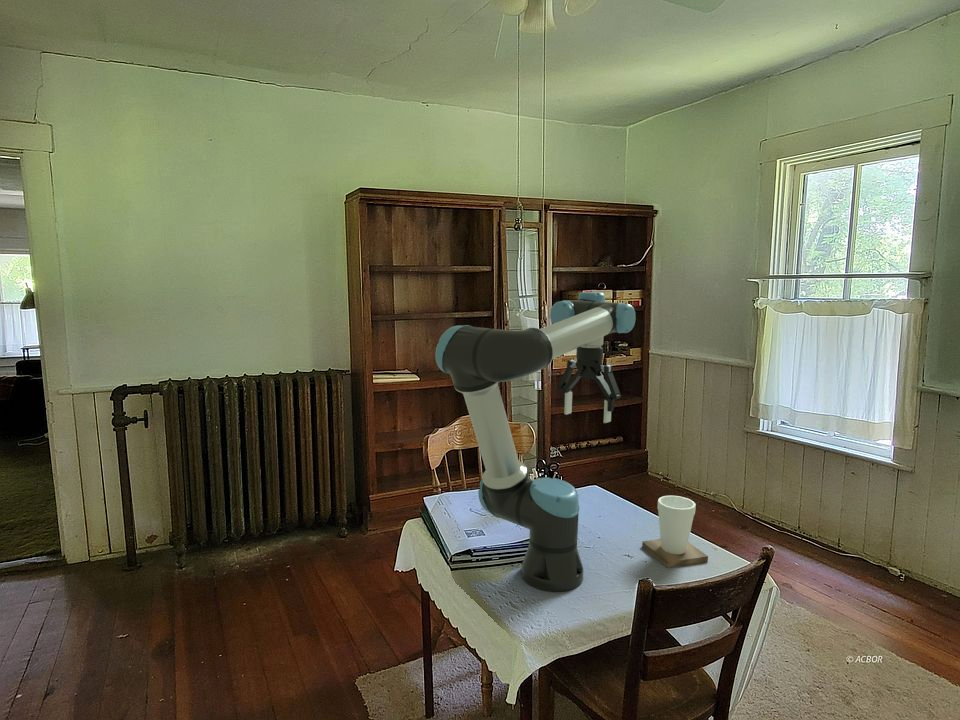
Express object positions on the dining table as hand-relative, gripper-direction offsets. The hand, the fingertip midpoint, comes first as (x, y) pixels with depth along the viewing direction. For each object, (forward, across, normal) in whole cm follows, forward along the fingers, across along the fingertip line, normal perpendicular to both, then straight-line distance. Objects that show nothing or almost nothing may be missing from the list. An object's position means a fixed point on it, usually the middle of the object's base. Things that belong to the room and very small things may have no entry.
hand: (587, 417), depth 176 cm
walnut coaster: (+32, -30, +1) cm, 43 cm away
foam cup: (+30, -29, +1) cm, 42 cm away
